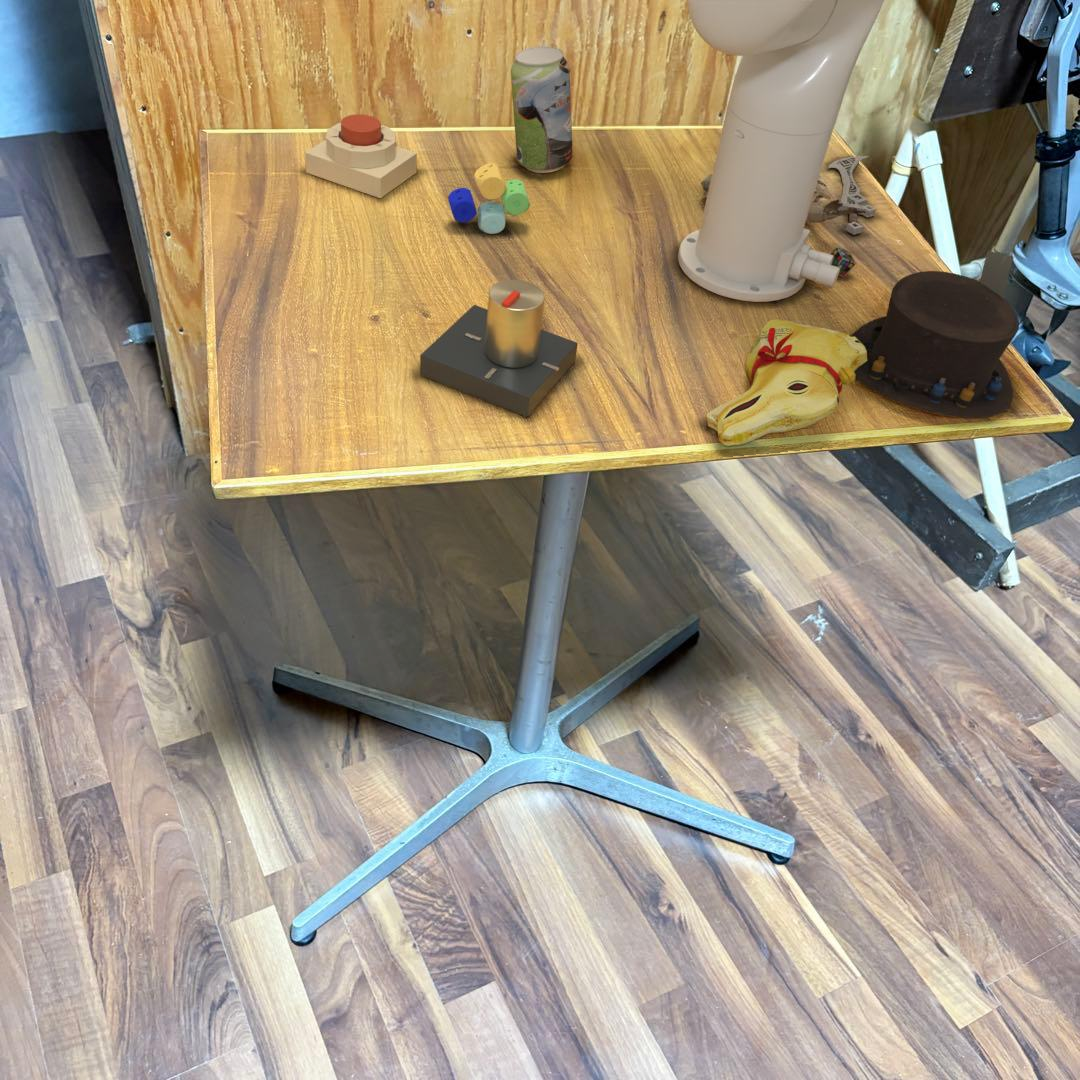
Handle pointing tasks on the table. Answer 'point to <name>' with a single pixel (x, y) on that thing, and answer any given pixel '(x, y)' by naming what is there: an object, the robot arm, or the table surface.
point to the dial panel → (495, 365)
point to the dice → (490, 188)
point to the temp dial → (514, 323)
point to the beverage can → (542, 109)
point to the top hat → (944, 343)
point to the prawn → (822, 213)
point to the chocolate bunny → (789, 381)
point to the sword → (852, 193)
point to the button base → (362, 162)
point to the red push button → (360, 130)
